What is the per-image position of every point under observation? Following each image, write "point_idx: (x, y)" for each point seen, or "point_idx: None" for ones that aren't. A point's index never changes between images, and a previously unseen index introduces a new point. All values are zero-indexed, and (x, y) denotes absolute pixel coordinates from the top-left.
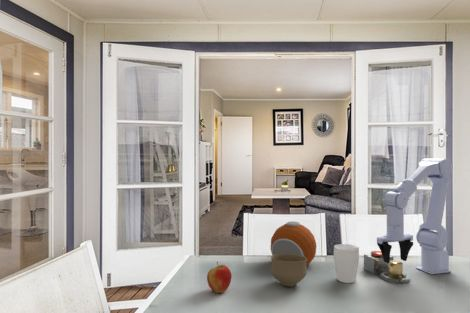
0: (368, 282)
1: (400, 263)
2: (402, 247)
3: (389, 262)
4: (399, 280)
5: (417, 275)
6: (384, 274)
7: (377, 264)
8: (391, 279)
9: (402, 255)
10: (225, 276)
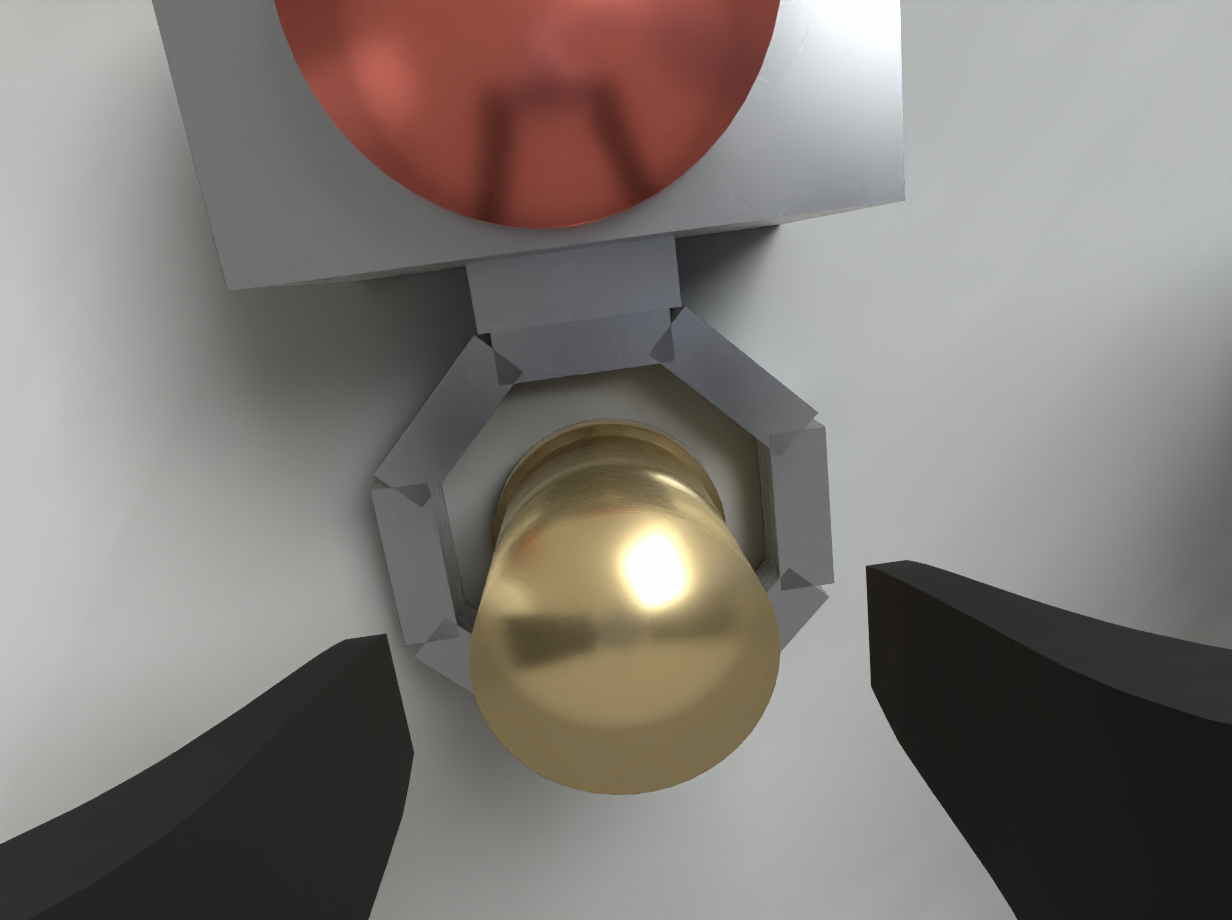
0: (98, 613)
1: (699, 735)
2: (1090, 834)
3: (489, 641)
4: None
5: (1049, 448)
6: (483, 424)
7: (395, 272)
8: (455, 674)
9: (924, 668)
10: None
